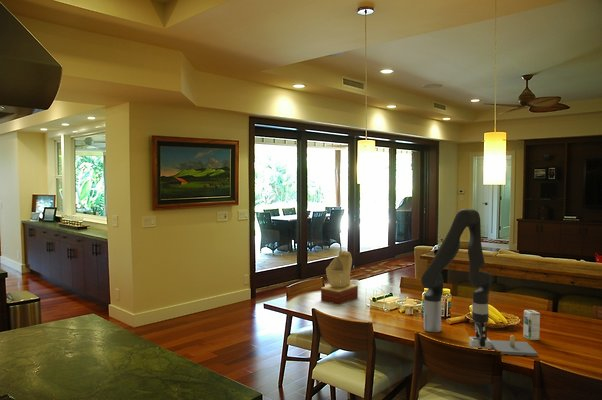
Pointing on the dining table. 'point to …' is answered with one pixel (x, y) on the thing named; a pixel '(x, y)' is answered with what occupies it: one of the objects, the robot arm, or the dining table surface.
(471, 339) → the steel link
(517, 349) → the board
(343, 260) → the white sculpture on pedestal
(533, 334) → the syrup box
